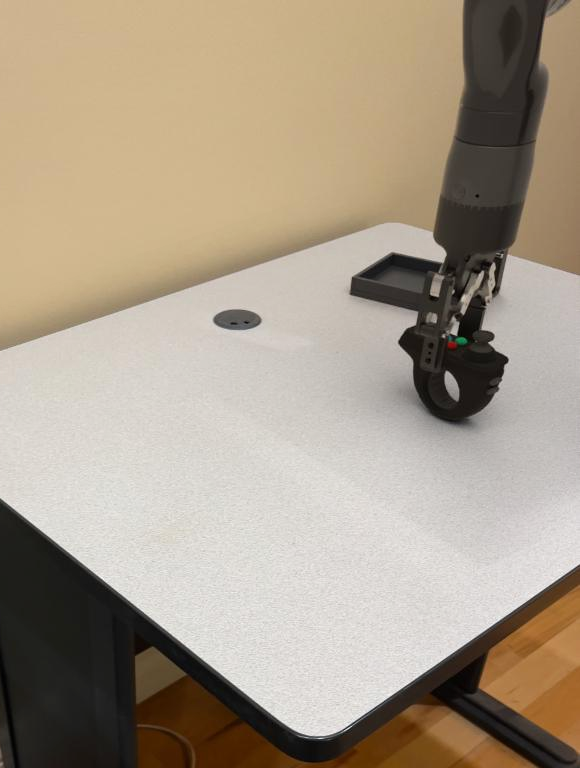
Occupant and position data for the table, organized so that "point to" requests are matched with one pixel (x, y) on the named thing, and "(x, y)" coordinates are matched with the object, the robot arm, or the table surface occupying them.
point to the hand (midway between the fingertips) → (449, 354)
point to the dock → (395, 280)
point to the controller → (457, 373)
